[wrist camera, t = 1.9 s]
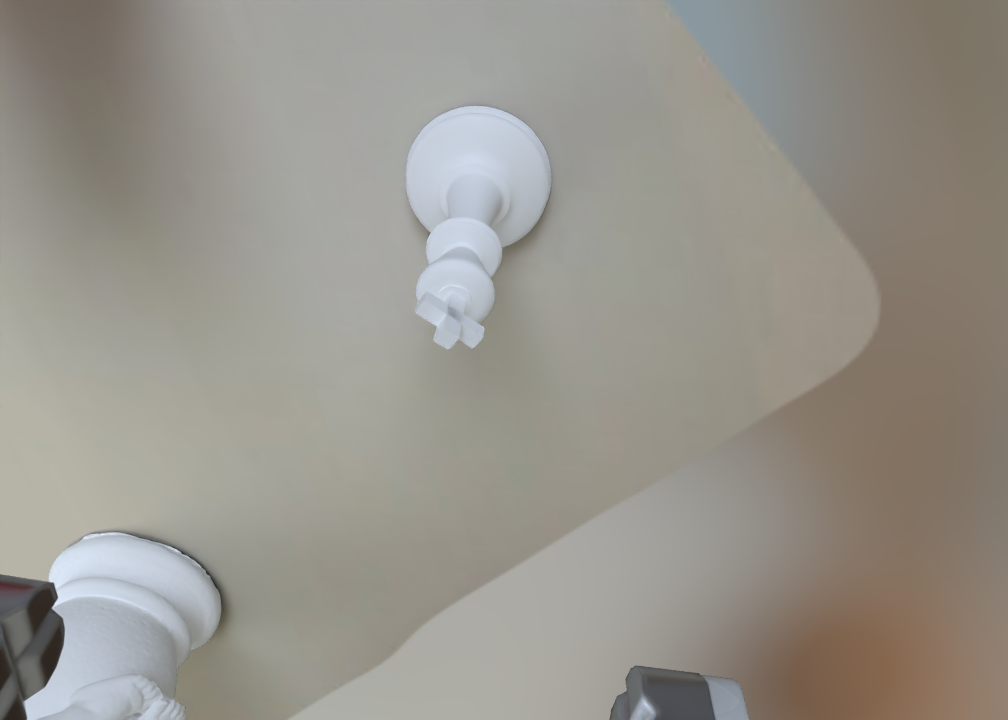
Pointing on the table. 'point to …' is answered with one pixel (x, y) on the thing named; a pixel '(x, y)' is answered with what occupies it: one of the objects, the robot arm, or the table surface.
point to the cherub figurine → (124, 629)
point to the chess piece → (472, 210)
